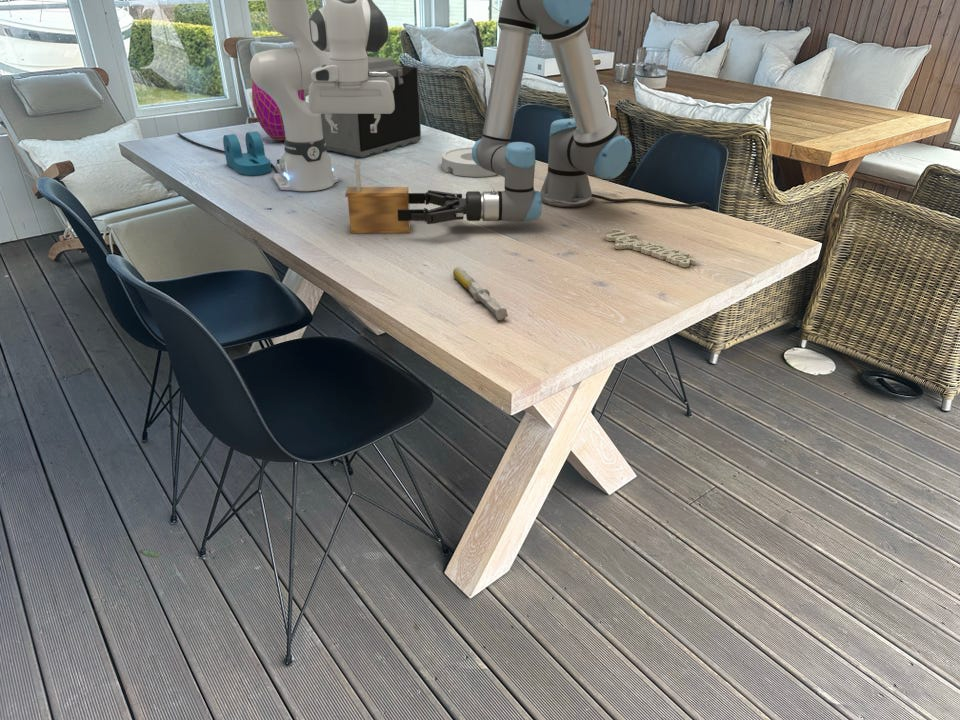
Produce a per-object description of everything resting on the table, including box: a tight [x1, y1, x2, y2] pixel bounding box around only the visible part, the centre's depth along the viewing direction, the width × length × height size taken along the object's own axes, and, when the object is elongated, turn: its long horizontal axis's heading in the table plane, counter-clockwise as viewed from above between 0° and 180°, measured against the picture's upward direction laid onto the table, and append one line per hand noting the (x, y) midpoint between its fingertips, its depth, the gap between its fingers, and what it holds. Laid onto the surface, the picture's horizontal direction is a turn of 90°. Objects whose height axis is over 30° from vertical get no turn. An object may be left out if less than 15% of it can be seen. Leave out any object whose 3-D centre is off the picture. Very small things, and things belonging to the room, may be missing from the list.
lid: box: [345, 159, 409, 198], centre depth 173 cm, size 16×5×8 cm, turn 93°
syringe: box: [452, 266, 509, 321], centre depth 145 cm, size 25×4×3 cm, turn 21°
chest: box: [347, 191, 411, 234], centre depth 178 cm, size 15×5×10 cm, turn 93°
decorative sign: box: [605, 228, 696, 268], centre depth 169 cm, size 26×1×10 cm
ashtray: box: [441, 146, 498, 178], centre depth 232 cm, size 23×23×4 cm
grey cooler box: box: [321, 56, 422, 159], centre depth 250 cm, size 37×22×30 cm, turn 144°
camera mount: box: [222, 131, 272, 176], centre depth 226 cm, size 18×10×10 cm, turn 35°
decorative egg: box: [251, 78, 307, 142], centre depth 257 cm, size 19×19×30 cm
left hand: (354, 132), depth 167 cm, fingers open, 8 cm apart
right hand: (399, 206), depth 177 cm, fingers open, 13 cm apart
